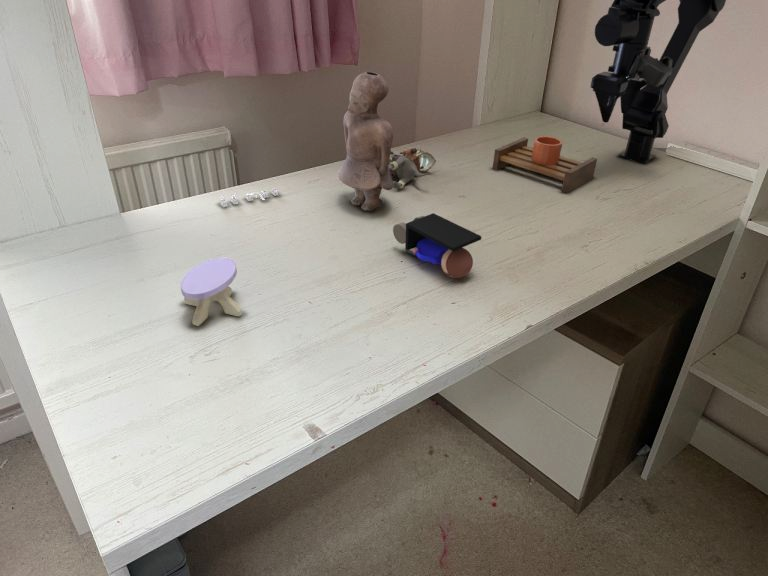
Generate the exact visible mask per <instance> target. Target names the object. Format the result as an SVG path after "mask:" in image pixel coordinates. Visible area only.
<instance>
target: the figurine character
mask: <svg viewBox="0 0 768 576" xmlns="http://www.w3.org/2000/svg"><path fill="white" fill-rule="evenodd" d="M392 233H393V236H394V238H395V240H396V241H397V242H398V244H401V245H404V244H405V245H404V250H405V252H406V253H408V254H410V255H411V256H414V257H417V258H418V259H419V260H420V261H425V262H430V263H432V265H440V266H441V270H442V271H443V272H444V274H445V275H447V276H448V277H450V278H453V279H461V278H463V277H466V276H467V275H468V274H469V273H470V272H471V271H472V269H473V265H474V259H473V256H472V254H471V252H470V251H468V249H466V248H465V247H467V246H470V245H472V244H474V243H477V242H479V241H481V240H482V235H480V234H477V233H476V232H473V231H472V230H469V229H468V228H465V227H464V226H461V225H459V224H458V223H455V222H452V221H450V220H448V219H447V218H445V217H443V216H440V215H438V214H436V213H434V212H433V213H430V214H427V215H420V216H416V217H415V218H413V220H411V221H409V222H403V221H402V222H399V223H396V224H394V226H393V227H392Z"/></svg>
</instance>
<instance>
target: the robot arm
mask: <svg viewBox="0 0 768 576" xmlns="http://www.w3.org/2000/svg"><path fill="white" fill-rule="evenodd" d="M666 1H667V0H613V2H612V3H611V6H609V7H608V10H607V14H604V15H603V16H601V17H600V18H599V19H598V21H597V23H596V24H595V26H594V38H595V40H596V42H597V43H598V44H599V45H601V46H602V47H611V46H613V47H612V52H615V53H614V58H613V63H612V65H609V66H608V69H607V71H602V72H599V73H596V75H594V76H593V77H591V82H590V88H591V89H592V91H593V92H594V94H595V97H596V100H597V101H596V102H597V104H598V108H599V112H600V116H601V120H602V122H603V123H606V124H607V123H609V121H610V119H611V117H612V114H613V111H614V109H615V106H616V104H617V101H618V99H620V112H621V114H622V125H621V126H622V127H621V129H622V130H626V131H629V135H628V139H627V143H626V147H625V150H624V151H622V152H620V153H619V154H618V157H619V158H623V159H626V160H630V161H632V162H633V161H634V162H636V163H640V164H647V163H648V162H650V161H652V160H653V159H654V158H655V157H656V155H655V154H653V153H652V151H653V147H654V144H655V141H656V140H655V139H657V138H658V139H662V138H664V136H665V135H666V133H667V132H668V129H669V126H670V125H669V123H668V119H667V115H666V113H667V111H668V108H669V107H668V105H669V104H668V93H669V91H670V89H671V87H672V85H673V84H674V81H675V80H676V77H677V76H678V74H679V72H680V70H681V68H682V66H683V64H684V63H685V60H686V58H687V57H688V54H689V53H690V51H691V49H692V47H693V45H694V43H695V42H696V39H697V37H698V36H699V34H700V32H702V31H703V30H704V29H705V28H707V27H708V26H709V25H712V23H714V21H715V20H716V18H717V17H718V15H719V13H720V12H722V11H723V9H724V7H725V5H726V2H727V0H679V4H678V6H677V16H678V17H677V18H678V23H677V25H676V27H675V29H674V31H673V33H672V35H671V37H670V39H669V40H668V43H667V44H666V46H665V48H664V50H663V52H662V54H661V57H660V58H658V57H653V56H651V53H652V49H651V46H648V45H649V41H650V37H651V33H652V29H653V25H654V21H655V18H656V17H660V15H661V12H660V9H659V8H658V7H659V6H660V5H661V4H662V3H665V2H666Z"/></svg>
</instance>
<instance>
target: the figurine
mask: <svg viewBox="0 0 768 576" xmlns="http://www.w3.org/2000/svg"><path fill="white" fill-rule="evenodd" d="M398 153H399V154H396V153H394V150H393V151H392V150H391V152H390V160H389V165H388V168H389V171H390V175H391V178H392V179H393V178H395V179H398V182H397V181H395V180H392V181H393V188H392V189H397V188H398V189H401V190H402V189H404V187H405V186H406V185H407V183H409V182H411V181H412V180H413V178H414V177H419V178H421V177H425V176H428V175H431V173H430V172H427V171H429V170H431V169H432V168H433V166H434V165H435V164H436V163H437V160H436V159H435V158H436V157H434V156H433V154H431V153H429V152H427V151H424V150H422V149H418V148H416V147H412V148H407V149H406V150H403V149H402V150H399V152H398ZM424 172H425V173H424Z"/></svg>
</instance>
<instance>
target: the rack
mask: <svg viewBox="0 0 768 576" xmlns="http://www.w3.org/2000/svg"><path fill="white" fill-rule="evenodd" d="M528 142H529V138H528V137H520V138H519V139H517V140H515V141H512V142H509V143H507V144H505V145H503V146H500V147H498V148H496V149H494V154H493V160H492V161H493V162H492V168H491V169H492V170H495V171H498V170H500V169H503V168H505V167H507V166H509V165H512V166H516V167H520V168H523V169H526V170H529V171H532V172H535V173H538V174H541V175H545V176H547V177H551V178H554V179H556V180H559V181H562V187H561V193H562V194H563V193H564V194H568V193H570V192H572V191H574V190H575V189H577V188H578V187H580V186H582V185H585V184H586V183H587V182H589V181H591V180H592V179H594V176H595V171H596V167H597V164H598V163H597V162H598V158H597V157H593V156H592V157H590V158H588V159H587V160H584V161H583V162H582V161H579V160H576V159H572V158H569V157H565V156H562V155H560V158H559V162H558V164H556V165H541V164H537V163H535V162H533V161H532V153H533V147H532V146H529V145H528Z"/></svg>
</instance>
